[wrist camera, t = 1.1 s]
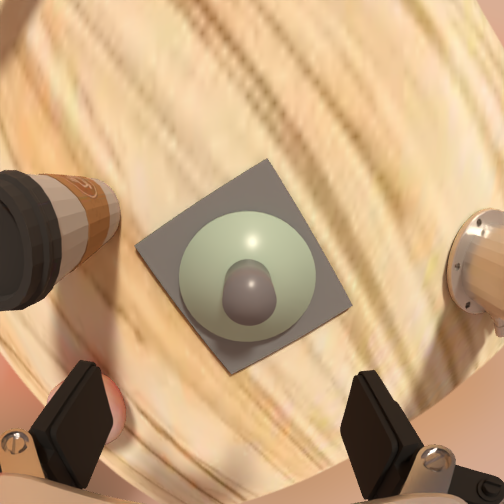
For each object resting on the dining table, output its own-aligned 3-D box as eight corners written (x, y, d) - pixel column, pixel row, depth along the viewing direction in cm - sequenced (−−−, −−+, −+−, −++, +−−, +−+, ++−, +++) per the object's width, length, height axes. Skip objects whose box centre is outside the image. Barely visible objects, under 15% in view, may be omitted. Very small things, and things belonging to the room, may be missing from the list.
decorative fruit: (106, 419, 33) (80, 474, 23) (59, 374, 31) (22, 424, 22) (153, 391, 32) (132, 455, 22) (101, 339, 30) (62, 395, 21)
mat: (350, 303, 30) (352, 305, 30) (231, 371, 32) (231, 374, 31) (266, 158, 27) (267, 158, 26) (136, 244, 28) (134, 245, 28)
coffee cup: (147, 191, 27) (60, 213, 12) (112, 270, 29) (26, 346, 14) (76, 153, 26) (-35, 149, 11) (47, 230, 27) (-58, 273, 13)
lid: (335, 295, 29) (353, 320, 24) (228, 356, 31) (227, 390, 25) (269, 184, 27) (277, 186, 21) (155, 258, 28) (137, 277, 23)
